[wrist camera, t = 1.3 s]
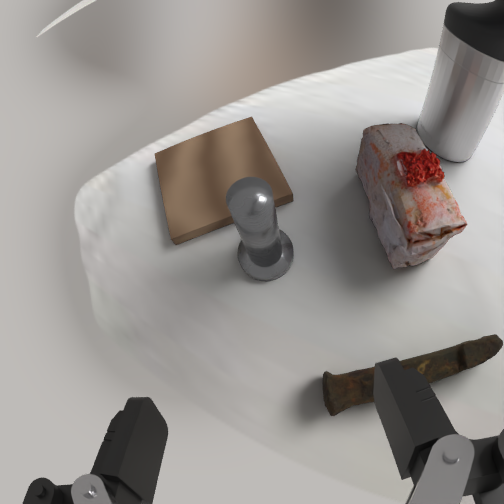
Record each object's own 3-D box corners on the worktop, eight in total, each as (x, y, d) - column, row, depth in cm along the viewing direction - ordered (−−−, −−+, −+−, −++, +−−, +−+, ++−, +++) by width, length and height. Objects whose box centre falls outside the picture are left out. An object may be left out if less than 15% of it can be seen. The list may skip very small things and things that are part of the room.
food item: (446, 261, 28) (489, 217, 19) (384, 280, 29) (415, 238, 20) (399, 163, 34) (418, 105, 25) (342, 174, 34) (350, 112, 26)
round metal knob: (282, 223, 33) (271, 156, 23) (301, 269, 31) (300, 213, 21) (233, 241, 33) (203, 181, 23) (249, 288, 31) (222, 241, 21)
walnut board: (253, 124, 40) (251, 116, 38) (293, 200, 34) (292, 193, 32) (158, 160, 40) (154, 153, 38) (176, 244, 34) (171, 239, 33)
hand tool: (323, 413, 25) (327, 419, 21) (319, 372, 26) (323, 371, 22) (490, 369, 23) (515, 365, 19) (486, 334, 24) (509, 325, 20)
